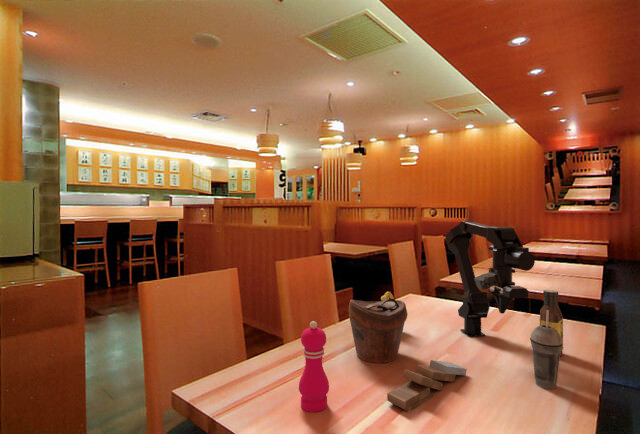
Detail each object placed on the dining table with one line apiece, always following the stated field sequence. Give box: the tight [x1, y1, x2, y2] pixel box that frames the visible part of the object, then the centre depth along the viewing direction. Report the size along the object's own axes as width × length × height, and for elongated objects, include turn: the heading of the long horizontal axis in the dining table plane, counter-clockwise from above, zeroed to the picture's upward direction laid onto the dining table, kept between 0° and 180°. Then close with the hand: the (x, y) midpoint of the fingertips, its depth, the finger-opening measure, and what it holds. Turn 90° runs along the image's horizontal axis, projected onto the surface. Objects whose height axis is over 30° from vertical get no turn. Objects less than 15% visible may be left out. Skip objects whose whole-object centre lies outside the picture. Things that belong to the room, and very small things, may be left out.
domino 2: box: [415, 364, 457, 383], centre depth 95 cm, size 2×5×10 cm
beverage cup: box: [529, 310, 564, 390], centre depth 93 cm, size 7×7×20 cm
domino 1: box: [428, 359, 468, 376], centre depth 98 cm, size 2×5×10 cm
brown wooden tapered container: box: [348, 298, 408, 364], centre depth 113 cm, size 18×20×18 cm
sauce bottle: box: [539, 289, 564, 357], centre depth 113 cm, size 7×6×20 cm
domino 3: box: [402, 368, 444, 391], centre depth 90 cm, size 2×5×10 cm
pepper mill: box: [298, 320, 330, 413], centre depth 85 cm, size 7×7×20 cm
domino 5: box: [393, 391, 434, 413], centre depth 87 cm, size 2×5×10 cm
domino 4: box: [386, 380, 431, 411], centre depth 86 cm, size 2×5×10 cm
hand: (501, 313), depth 116 cm, fingers closed
